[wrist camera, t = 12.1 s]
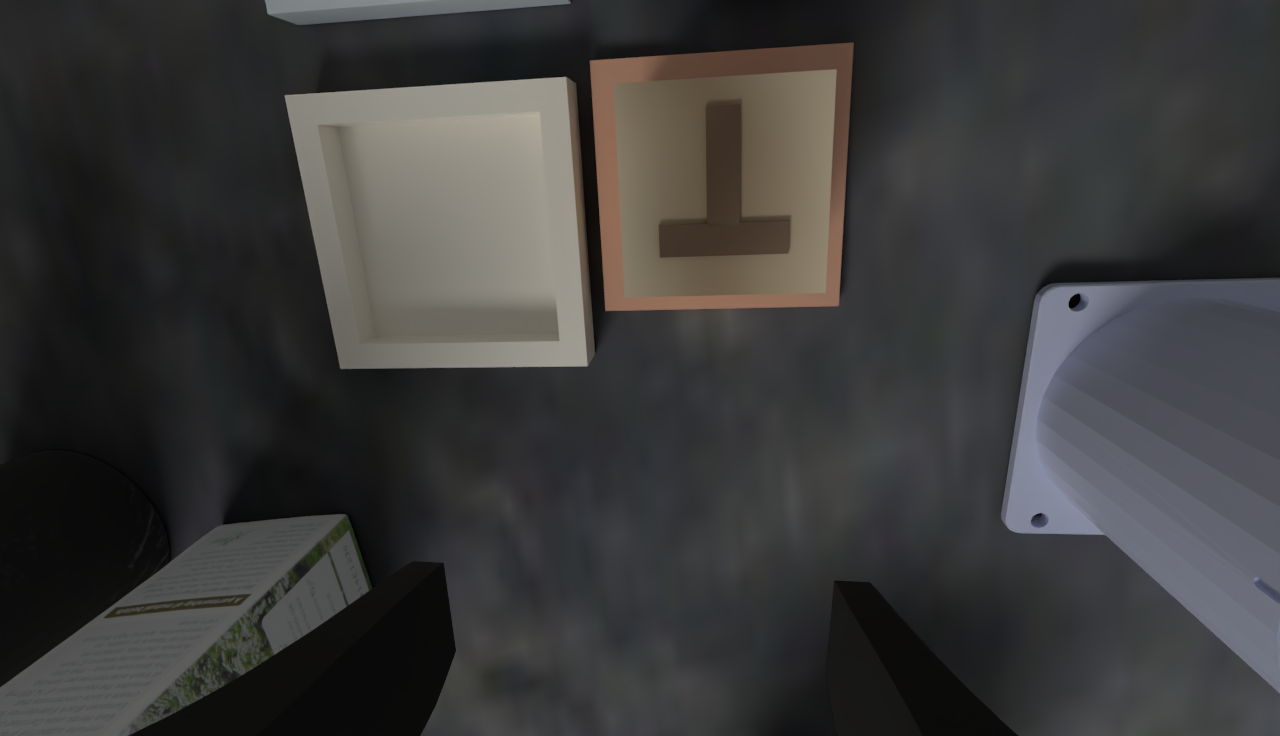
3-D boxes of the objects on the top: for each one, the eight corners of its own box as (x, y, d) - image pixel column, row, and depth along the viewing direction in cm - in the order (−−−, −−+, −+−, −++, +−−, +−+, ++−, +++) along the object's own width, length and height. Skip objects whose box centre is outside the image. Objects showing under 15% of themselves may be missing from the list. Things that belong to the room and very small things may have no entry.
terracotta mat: (850, 45, 16) (853, 42, 16) (836, 303, 18) (838, 305, 18) (592, 62, 17) (589, 60, 17) (607, 308, 19) (605, 311, 19)
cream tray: (576, 83, 17) (565, 76, 16) (595, 354, 20) (587, 366, 18) (313, 100, 18) (284, 95, 17) (362, 357, 20) (340, 368, 19)
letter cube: (802, 96, 16) (837, 68, 12) (797, 263, 18) (826, 293, 13) (636, 105, 17) (612, 82, 12) (643, 268, 18) (623, 298, 14)
